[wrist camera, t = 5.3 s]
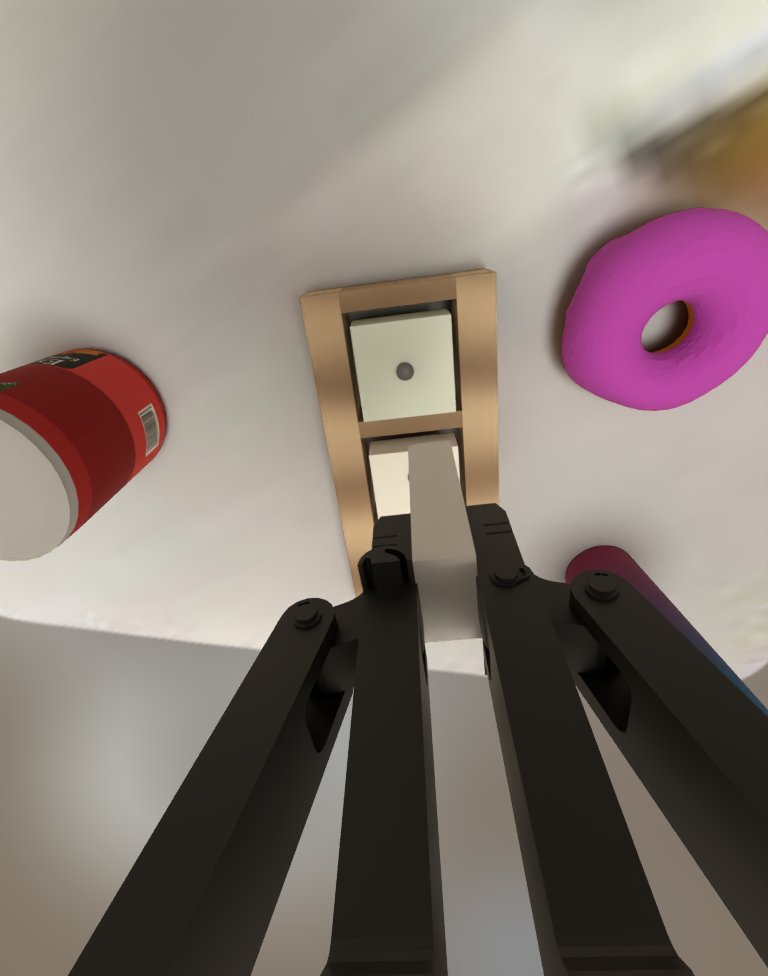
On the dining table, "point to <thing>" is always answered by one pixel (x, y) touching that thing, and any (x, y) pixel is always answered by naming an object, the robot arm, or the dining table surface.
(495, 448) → the panel
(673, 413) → the dining table surface
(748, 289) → the donut
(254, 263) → the dining table surface
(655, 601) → the cup
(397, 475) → the button
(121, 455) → the canned food
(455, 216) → the dining table surface
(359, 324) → the button
